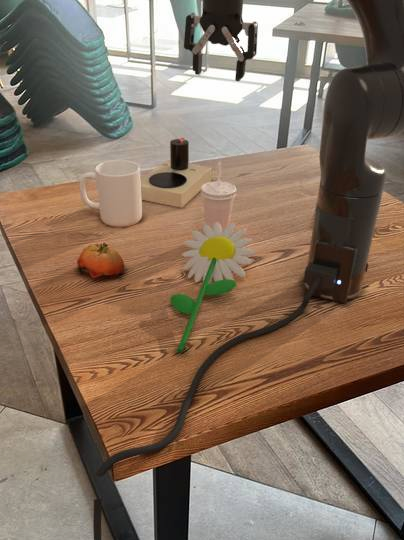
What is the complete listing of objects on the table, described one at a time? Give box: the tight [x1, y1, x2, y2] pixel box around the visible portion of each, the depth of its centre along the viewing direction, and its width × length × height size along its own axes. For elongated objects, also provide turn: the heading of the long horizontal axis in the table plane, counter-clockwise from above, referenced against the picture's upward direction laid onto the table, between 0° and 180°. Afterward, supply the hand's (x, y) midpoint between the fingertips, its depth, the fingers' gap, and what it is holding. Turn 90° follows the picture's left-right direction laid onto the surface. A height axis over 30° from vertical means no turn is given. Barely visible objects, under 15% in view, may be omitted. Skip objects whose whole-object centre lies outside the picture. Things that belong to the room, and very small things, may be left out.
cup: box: [79, 159, 143, 228], centre depth 110 cm, size 8×12×10 cm
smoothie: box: [200, 161, 237, 232], centre depth 103 cm, size 6×6×14 cm
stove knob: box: [169, 137, 190, 170], centre depth 125 cm, size 4×4×6 cm
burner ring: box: [149, 172, 187, 188], centre depth 121 cm, size 8×8×1 cm
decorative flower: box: [169, 222, 256, 354], centre depth 90 cm, size 13×5×30 cm
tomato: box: [76, 242, 125, 279], centre depth 96 cm, size 8×7×7 cm
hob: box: [140, 159, 213, 209], centre depth 124 cm, size 17×11×3 cm, turn 157°
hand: (218, 76), depth 116 cm, fingers open, 8 cm apart
